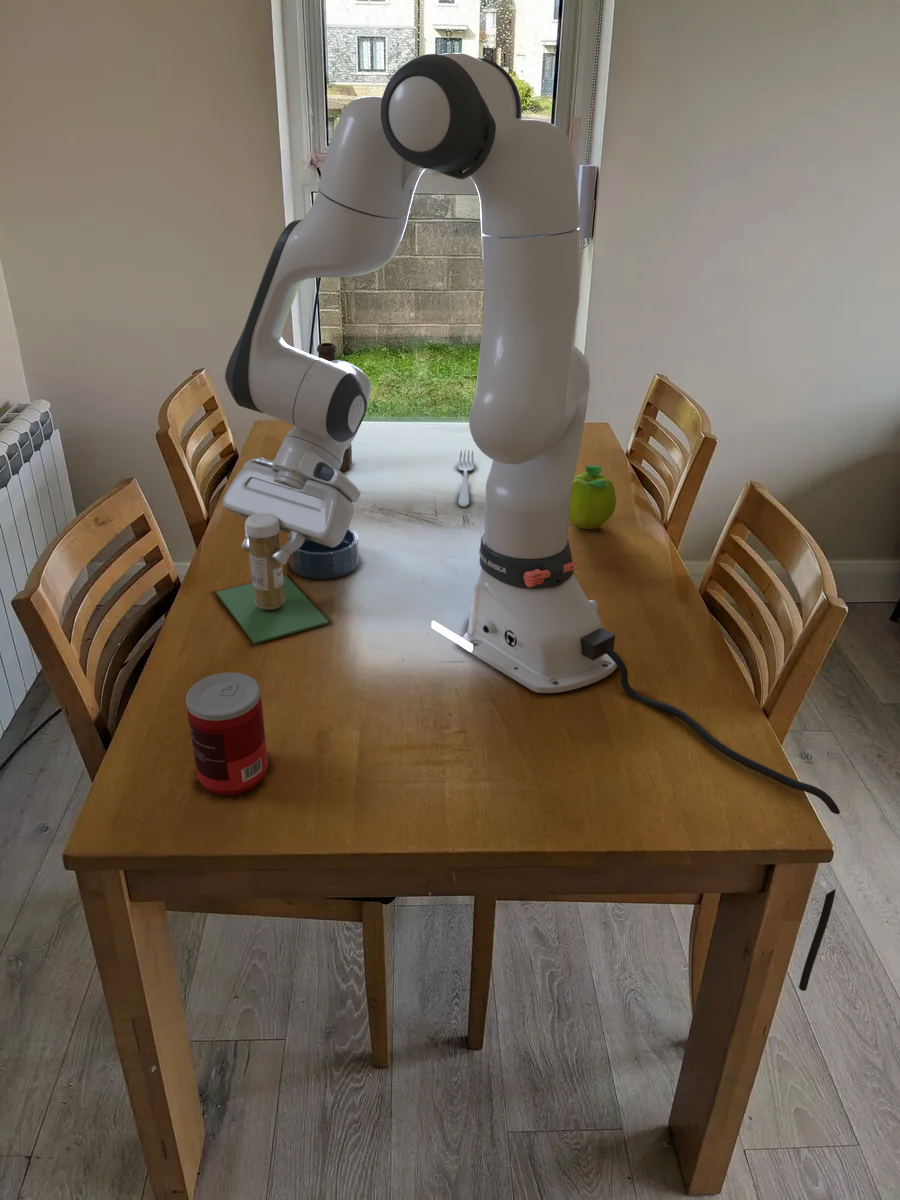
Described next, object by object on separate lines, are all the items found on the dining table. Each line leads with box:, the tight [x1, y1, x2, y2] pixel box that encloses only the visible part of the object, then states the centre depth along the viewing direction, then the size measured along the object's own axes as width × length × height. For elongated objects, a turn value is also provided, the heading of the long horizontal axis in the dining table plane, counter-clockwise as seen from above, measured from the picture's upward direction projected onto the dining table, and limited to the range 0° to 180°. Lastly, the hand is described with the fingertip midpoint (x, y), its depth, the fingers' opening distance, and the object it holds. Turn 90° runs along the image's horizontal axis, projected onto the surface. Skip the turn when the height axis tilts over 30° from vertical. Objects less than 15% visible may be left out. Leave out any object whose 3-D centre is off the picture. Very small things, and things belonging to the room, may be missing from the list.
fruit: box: [569, 465, 617, 530], centre depth 158 cm, size 9×9×10 cm
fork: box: [457, 449, 475, 508], centre depth 176 cm, size 3×24×2 cm, turn 178°
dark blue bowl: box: [287, 527, 360, 580], centre depth 145 cm, size 11×11×4 cm
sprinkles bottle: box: [245, 513, 286, 610], centre depth 131 cm, size 5×5×14 cm
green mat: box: [215, 574, 329, 645], centre depth 134 cm, size 16×11×1 cm
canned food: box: [185, 672, 269, 796], centre depth 100 cm, size 8×8×11 cm
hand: (262, 556), depth 129 cm, fingers closed on sprinkles bottle, 4 cm apart
